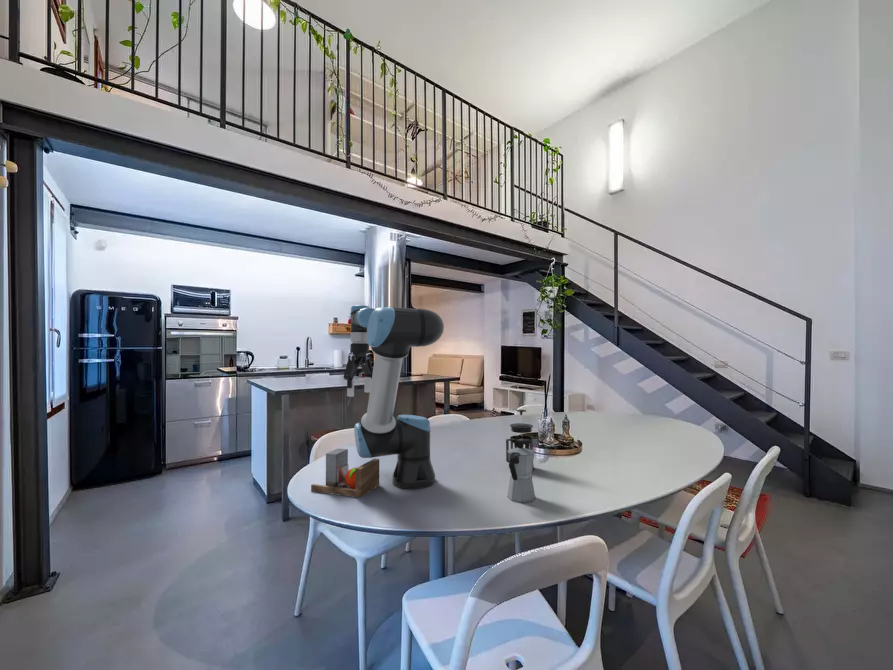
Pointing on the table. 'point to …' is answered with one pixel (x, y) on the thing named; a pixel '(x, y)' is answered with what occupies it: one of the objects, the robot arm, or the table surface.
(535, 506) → the table surface
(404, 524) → the table surface
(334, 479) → the block
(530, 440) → the french press
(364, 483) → the frame
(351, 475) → the clementine
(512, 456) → the coffee maker
